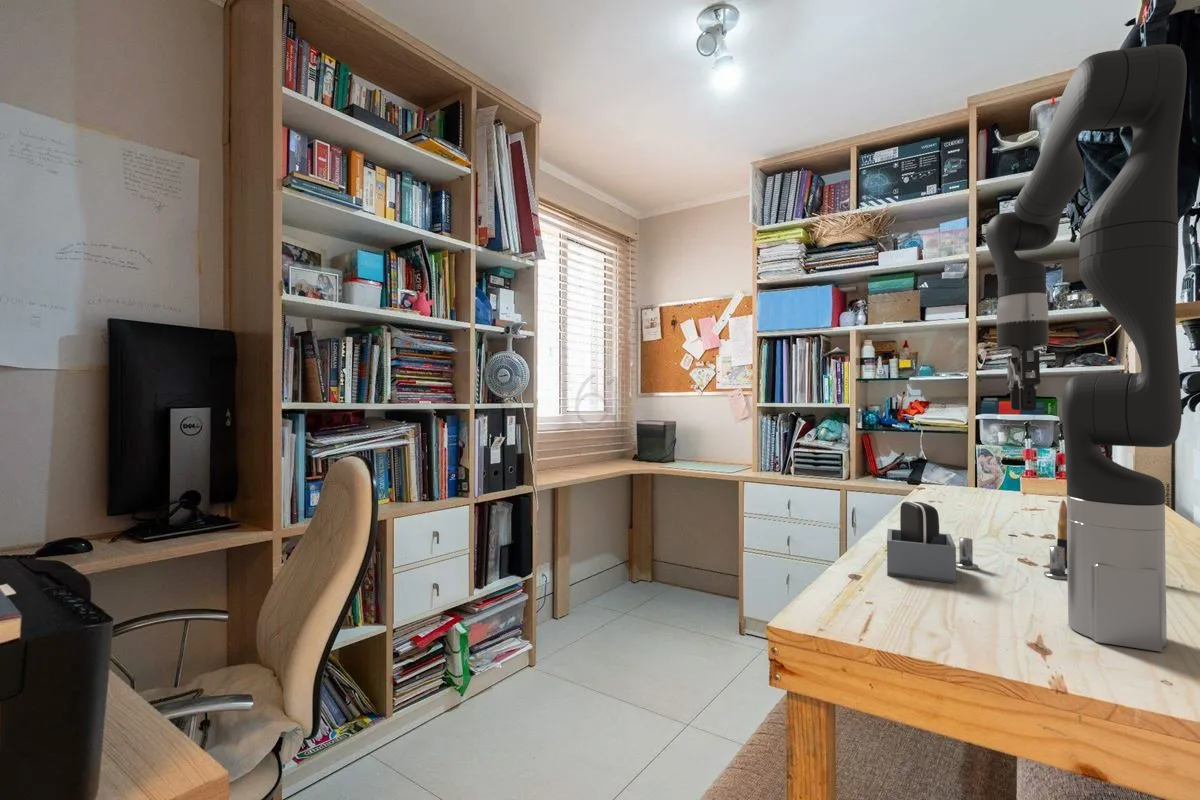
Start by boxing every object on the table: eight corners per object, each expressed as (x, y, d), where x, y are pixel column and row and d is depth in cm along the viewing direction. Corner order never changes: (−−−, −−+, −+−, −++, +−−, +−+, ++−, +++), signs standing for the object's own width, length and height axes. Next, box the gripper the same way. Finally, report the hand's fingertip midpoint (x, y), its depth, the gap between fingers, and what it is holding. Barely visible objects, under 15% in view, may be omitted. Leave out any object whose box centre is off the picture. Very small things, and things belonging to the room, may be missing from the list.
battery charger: (943, 574, 94) (942, 506, 94) (920, 574, 94) (919, 506, 94) (921, 562, 101) (920, 499, 101) (899, 562, 101) (899, 499, 101)
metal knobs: (1074, 581, 92) (1073, 551, 92) (955, 567, 100) (955, 539, 100) (1068, 575, 95) (1067, 546, 95) (953, 562, 103) (953, 535, 103)
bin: (956, 584, 91) (955, 547, 91) (887, 575, 96) (887, 540, 96) (950, 567, 100) (950, 534, 100) (887, 560, 104) (887, 528, 104)
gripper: (1058, 314, 93) (1059, 411, 93) (1038, 324, 106) (1039, 409, 106) (1003, 317, 97) (1004, 411, 97) (990, 327, 109) (991, 409, 109)
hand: (1022, 410), depth 101 cm, fingers open, 8 cm apart
